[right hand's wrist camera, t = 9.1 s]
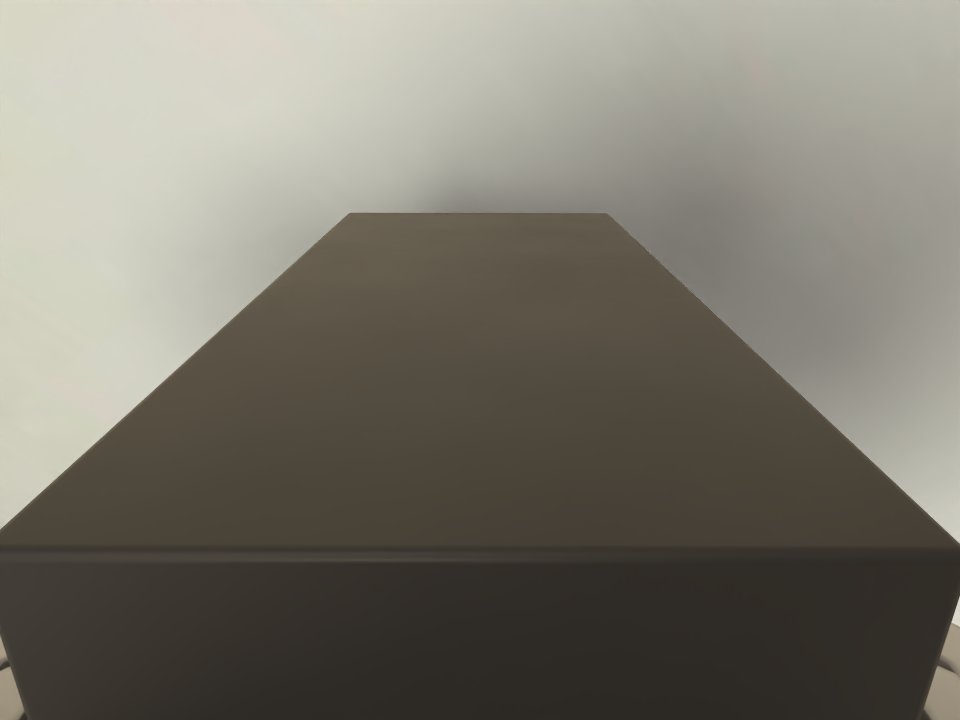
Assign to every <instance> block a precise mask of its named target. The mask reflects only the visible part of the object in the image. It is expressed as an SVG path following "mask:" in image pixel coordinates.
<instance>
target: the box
mask: <svg viewBox="0 0 960 720" xmlns="http://www.w3.org/2000/svg"><path fill="white" fill-rule="evenodd" d="M959 596H960V544H959V543H958V542H957V541H956V540H955V539H954V538H953V537H952V536H951V535H950V534H949V533H948V532H947V531H945V530H944V529H943V528H942V527H941V526H940V525H939V524H938V523H937V522H936V521H935V520H934V519H933V518H932V517H931V516H929V515H928V514H927V513H926V512H925V511H924V510H923V509H922V508H921V507H920V506H919V505H918V504H917V503H916V502H915V501H913V500H912V499H911V498H910V497H909V496H908V495H907V494H906V493H905V492H904V491H903V490H902V489H901V488H900V487H899V486H897V485H896V484H895V483H894V482H893V481H892V480H891V479H890V478H889V477H888V476H887V475H886V474H885V473H884V472H883V471H881V470H880V469H879V468H878V467H877V466H876V465H875V464H874V463H873V462H872V461H871V460H870V459H869V458H868V457H866V456H865V455H864V454H863V453H862V452H861V451H860V450H859V449H858V448H857V447H856V446H855V445H854V444H853V443H852V442H850V441H849V440H848V439H847V438H846V437H845V436H844V435H843V434H842V433H841V432H840V431H839V430H838V429H837V428H836V427H834V426H833V425H832V424H831V423H830V422H829V421H828V420H827V419H826V418H825V417H824V416H823V415H822V414H821V413H820V412H818V411H817V410H816V409H815V408H814V407H813V406H812V405H811V404H810V403H809V402H808V401H807V400H806V399H805V398H804V397H802V396H801V395H800V394H799V393H798V392H797V391H796V390H795V389H794V388H793V387H792V386H791V385H790V384H789V383H788V382H786V381H785V380H784V379H783V378H782V377H781V376H780V375H779V374H778V373H777V372H776V371H775V370H774V369H773V368H771V367H770V366H769V365H768V364H767V363H766V362H765V361H764V360H763V359H762V358H761V357H760V356H759V355H758V354H757V353H755V352H754V351H753V350H752V349H751V348H750V347H749V346H748V345H747V344H746V343H745V342H744V341H743V340H742V339H741V338H739V337H738V336H737V335H736V334H735V333H734V332H733V331H732V330H731V329H730V328H729V327H728V326H727V325H726V324H725V323H723V322H722V321H721V320H720V319H719V318H718V317H717V316H716V315H715V314H714V313H713V312H712V311H711V310H710V309H709V308H707V307H706V306H705V305H704V304H703V303H702V302H701V301H700V300H699V299H698V298H697V297H696V296H695V295H694V294H693V293H691V292H690V291H689V290H688V289H687V288H686V287H685V286H684V285H683V284H682V283H681V282H680V281H679V280H678V279H676V278H675V277H674V276H673V275H672V274H671V273H670V272H669V271H668V270H667V269H666V268H665V267H664V266H663V265H662V264H660V263H659V262H658V261H657V260H656V259H655V258H654V257H653V256H652V255H651V254H650V253H649V252H648V251H647V250H646V249H644V248H643V247H642V246H641V245H640V244H639V243H638V242H637V241H636V240H635V239H634V238H633V237H632V236H631V235H630V234H628V233H627V232H626V231H625V230H624V229H623V228H622V227H621V226H620V225H619V224H618V223H617V222H616V221H615V220H614V219H612V218H611V217H610V216H609V215H608V214H578V213H350V214H348V215H347V216H346V217H345V218H343V219H342V220H341V221H340V222H339V223H338V224H337V225H336V226H335V227H334V228H332V229H331V230H330V231H329V232H328V233H327V234H326V235H325V236H324V237H323V238H321V239H320V240H319V241H318V242H317V243H316V244H315V245H314V246H313V247H311V248H310V249H309V250H308V251H307V252H306V253H305V254H304V255H303V256H302V257H300V258H299V259H298V260H297V261H296V262H295V263H294V264H293V265H292V266H291V267H289V268H288V269H287V270H286V271H285V272H284V273H283V274H282V275H281V276H279V277H278V278H277V279H276V280H275V281H274V282H273V283H272V284H271V285H270V286H268V287H267V288H266V289H265V290H264V291H263V292H262V293H261V294H260V295H259V296H257V297H256V298H255V299H254V300H253V301H252V302H251V303H250V304H249V305H248V306H246V307H245V308H244V309H243V310H242V311H241V312H240V313H239V314H238V315H236V316H235V317H234V318H233V319H232V320H231V321H230V322H229V323H228V324H227V325H225V326H224V327H223V328H222V329H221V330H220V331H219V332H218V333H217V334H216V335H214V336H213V337H212V338H211V339H210V340H209V341H208V342H207V343H206V344H204V345H203V346H202V347H201V348H200V349H199V350H198V351H197V352H196V353H195V354H193V355H192V356H191V357H190V358H189V359H188V360H187V361H186V362H185V363H184V364H182V365H181V366H180V367H179V368H178V369H177V370H176V371H175V372H174V373H173V374H171V375H170V376H169V377H168V378H167V379H166V380H165V381H164V382H163V383H161V384H160V385H159V386H158V387H157V388H156V389H155V390H154V391H153V392H152V393H150V394H149V395H148V396H147V397H146V398H145V399H144V400H143V401H142V402H141V403H139V404H138V405H137V406H136V407H135V408H134V409H133V410H132V411H131V412H129V413H128V414H127V415H126V416H125V417H124V418H123V419H122V420H121V421H120V422H118V423H117V424H116V425H115V426H114V427H113V428H112V429H111V430H110V431H109V432H107V433H106V434H105V435H104V436H103V437H102V438H101V439H100V440H99V441H98V442H96V443H95V444H94V445H93V446H92V447H91V448H90V449H89V450H88V451H86V452H85V453H84V454H83V455H82V456H81V457H80V458H79V459H78V460H77V461H75V462H74V463H73V464H72V465H71V466H70V467H69V468H68V469H67V470H66V471H64V472H63V473H62V474H61V475H60V476H59V477H58V478H57V479H56V480H55V481H53V482H52V483H51V484H50V485H49V486H48V487H47V488H46V489H45V490H43V491H42V492H41V493H40V494H39V495H38V496H37V497H36V498H35V499H34V500H32V501H31V502H30V503H29V504H28V505H27V506H26V507H25V508H24V509H23V510H21V511H20V512H19V513H18V514H17V515H16V516H15V517H14V518H13V519H11V520H10V521H9V522H8V523H7V524H6V525H5V526H4V527H3V528H2V529H0V636H1V639H2V642H3V645H4V649H5V652H6V655H7V658H8V661H9V664H10V667H11V670H12V673H13V677H14V680H15V683H16V686H17V689H18V692H19V695H20V698H21V701H22V705H23V708H24V711H25V714H26V717H27V720H920V718H921V715H922V712H923V709H924V706H925V703H926V700H927V697H928V693H929V690H930V687H931V684H932V681H933V678H934V675H935V672H936V668H937V665H938V662H939V659H940V656H941V653H942V650H943V647H944V643H945V640H946V637H947V634H948V631H949V628H950V625H951V621H952V618H953V615H954V612H955V609H956V606H957V603H958V600H959Z"/></svg>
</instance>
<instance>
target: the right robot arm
mask: <svg viewBox="0 0 960 720" xmlns="http://www.w3.org/2000/svg"><path fill="white" fill-rule="evenodd" d="M0 720H27V717H26V714H25V711H24V708H23V705H22V701H21V698H20V695H19V692H18V689H17V686H16V683H15V680H14V677H13V673H12V670H11V667H10V664H9V661H8V658H7V655H6V652H5V649H4V645H3V642H2V639H1V636H0ZM920 720H960V627H959V626H957V625H955V624H953V623H951V625H950V628H949V631H948V634H947V637H946V640H945V643H944V647H943V650H942V653H941V656H940V659H939V662H938V665H937V668H936V672H935V675H934V678H933V681H932V684H931V687H930V690H929V693H928V697H927V700H926V703H925V706H924V709H923V712H922V715H921V718H920Z"/></svg>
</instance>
